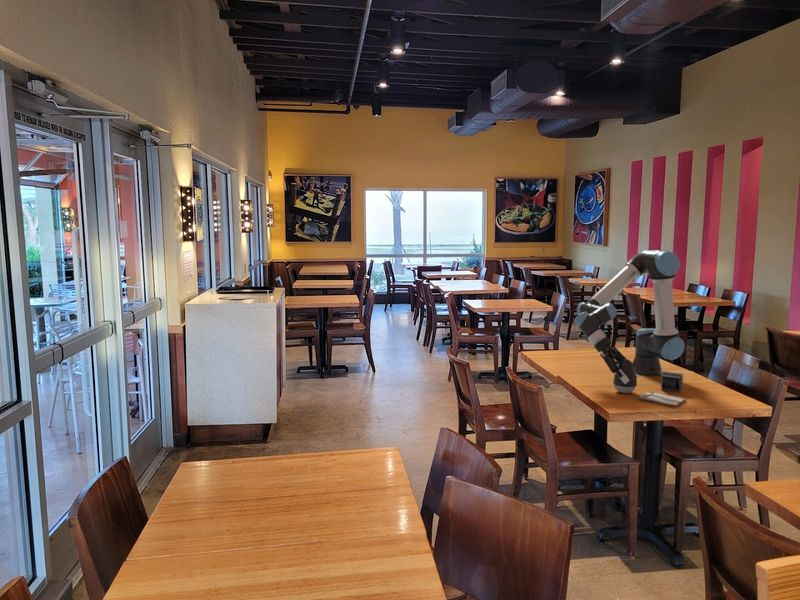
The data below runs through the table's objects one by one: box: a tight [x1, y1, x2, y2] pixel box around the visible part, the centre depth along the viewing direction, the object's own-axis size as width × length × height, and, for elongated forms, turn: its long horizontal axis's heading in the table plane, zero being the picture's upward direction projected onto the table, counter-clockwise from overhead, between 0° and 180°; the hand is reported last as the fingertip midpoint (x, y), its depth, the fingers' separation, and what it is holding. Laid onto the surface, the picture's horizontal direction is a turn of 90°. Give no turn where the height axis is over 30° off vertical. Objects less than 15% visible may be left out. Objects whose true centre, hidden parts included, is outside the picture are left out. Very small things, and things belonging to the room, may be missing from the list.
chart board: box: [636, 391, 687, 409], centre depth 265 cm, size 14×16×1 cm
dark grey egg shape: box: [612, 358, 638, 394], centre depth 276 cm, size 10×10×15 cm
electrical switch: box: [660, 370, 684, 393], centre depth 280 cm, size 9×5×9 cm, turn 57°
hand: (631, 380), depth 274 cm, fingers closed on dark grey egg shape, 9 cm apart
